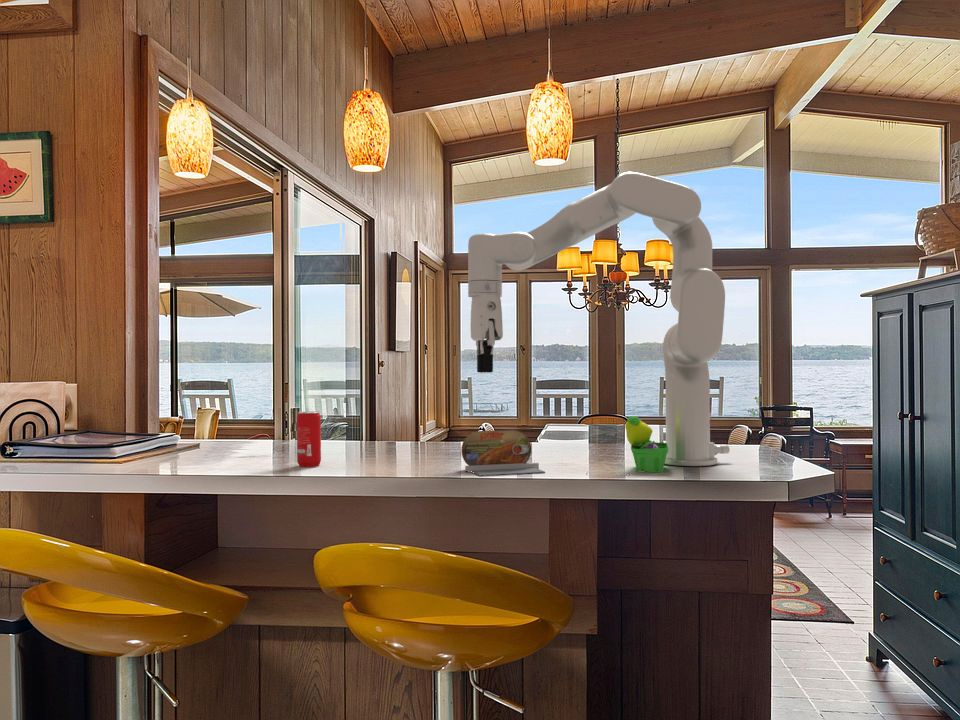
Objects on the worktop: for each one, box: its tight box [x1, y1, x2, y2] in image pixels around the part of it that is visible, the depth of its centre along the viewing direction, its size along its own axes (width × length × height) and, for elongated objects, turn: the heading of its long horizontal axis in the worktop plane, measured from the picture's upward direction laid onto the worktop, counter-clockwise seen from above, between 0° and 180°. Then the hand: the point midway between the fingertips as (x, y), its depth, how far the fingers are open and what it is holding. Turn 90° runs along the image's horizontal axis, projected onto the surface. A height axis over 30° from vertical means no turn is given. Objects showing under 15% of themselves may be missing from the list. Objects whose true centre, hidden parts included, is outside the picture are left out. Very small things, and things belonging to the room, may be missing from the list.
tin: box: [461, 429, 532, 466], centre depth 165 cm, size 15×3×8 cm, turn 101°
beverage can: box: [296, 410, 322, 468], centre depth 172 cm, size 5×5×12 cm
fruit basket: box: [624, 415, 669, 473], centre depth 164 cm, size 11×9×11 cm
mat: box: [464, 462, 546, 476], centre depth 160 cm, size 16×7×1 cm, turn 107°
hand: (484, 372), depth 172 cm, fingers closed
